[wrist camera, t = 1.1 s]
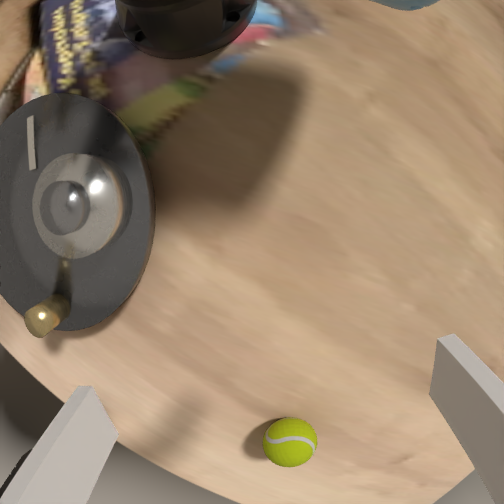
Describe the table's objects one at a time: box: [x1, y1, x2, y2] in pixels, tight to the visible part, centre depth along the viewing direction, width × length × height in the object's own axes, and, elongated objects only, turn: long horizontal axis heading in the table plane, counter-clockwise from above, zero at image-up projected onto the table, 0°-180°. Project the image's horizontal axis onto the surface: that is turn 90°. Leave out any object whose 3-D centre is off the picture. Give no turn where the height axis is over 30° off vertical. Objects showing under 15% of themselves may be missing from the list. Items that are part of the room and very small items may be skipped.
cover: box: [32, 153, 133, 259], centre depth 24 cm, size 9×9×6 cm
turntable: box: [0, 93, 156, 338], centre depth 26 cm, size 26×26×7 cm
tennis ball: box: [263, 417, 317, 467], centre depth 33 cm, size 7×7×7 cm
